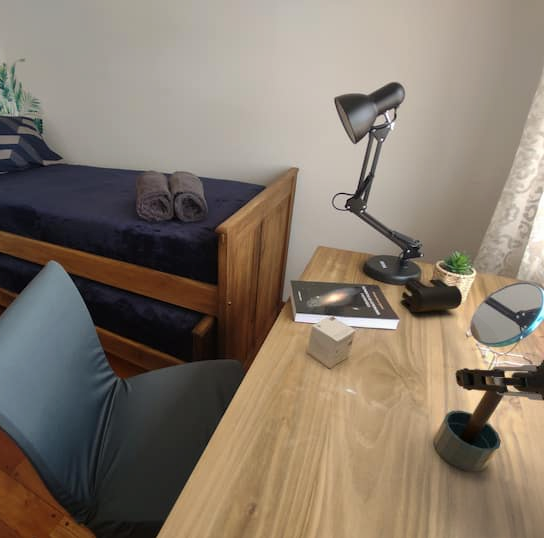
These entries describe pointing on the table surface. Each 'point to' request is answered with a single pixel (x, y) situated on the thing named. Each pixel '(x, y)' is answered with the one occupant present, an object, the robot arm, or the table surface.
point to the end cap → (431, 296)
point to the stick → (480, 416)
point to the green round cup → (460, 451)
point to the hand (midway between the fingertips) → (491, 379)
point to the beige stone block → (330, 341)
